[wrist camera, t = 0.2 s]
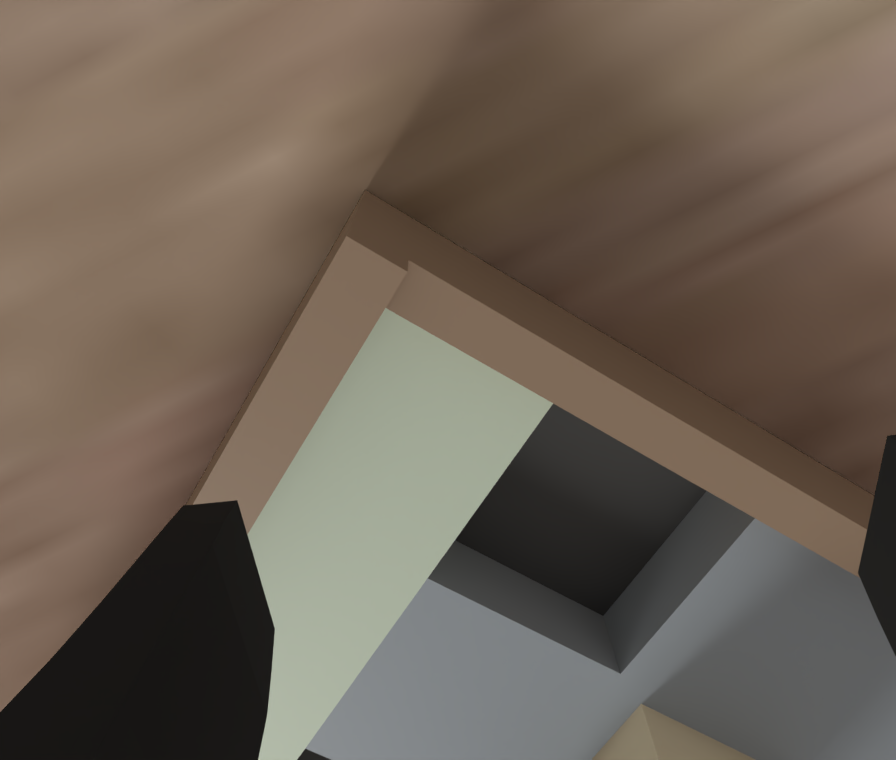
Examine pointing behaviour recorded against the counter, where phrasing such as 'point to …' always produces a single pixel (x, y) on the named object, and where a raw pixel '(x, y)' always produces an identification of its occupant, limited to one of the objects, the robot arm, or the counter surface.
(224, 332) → the counter surface
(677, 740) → the wood block
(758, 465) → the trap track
